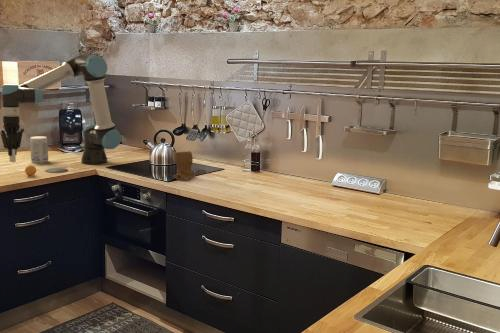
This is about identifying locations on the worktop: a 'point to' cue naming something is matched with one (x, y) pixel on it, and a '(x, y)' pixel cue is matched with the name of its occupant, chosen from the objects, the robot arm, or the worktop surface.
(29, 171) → the ball
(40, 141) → the supplement tub
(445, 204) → the worktop surface
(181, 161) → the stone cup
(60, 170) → the disc
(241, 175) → the worktop surface
